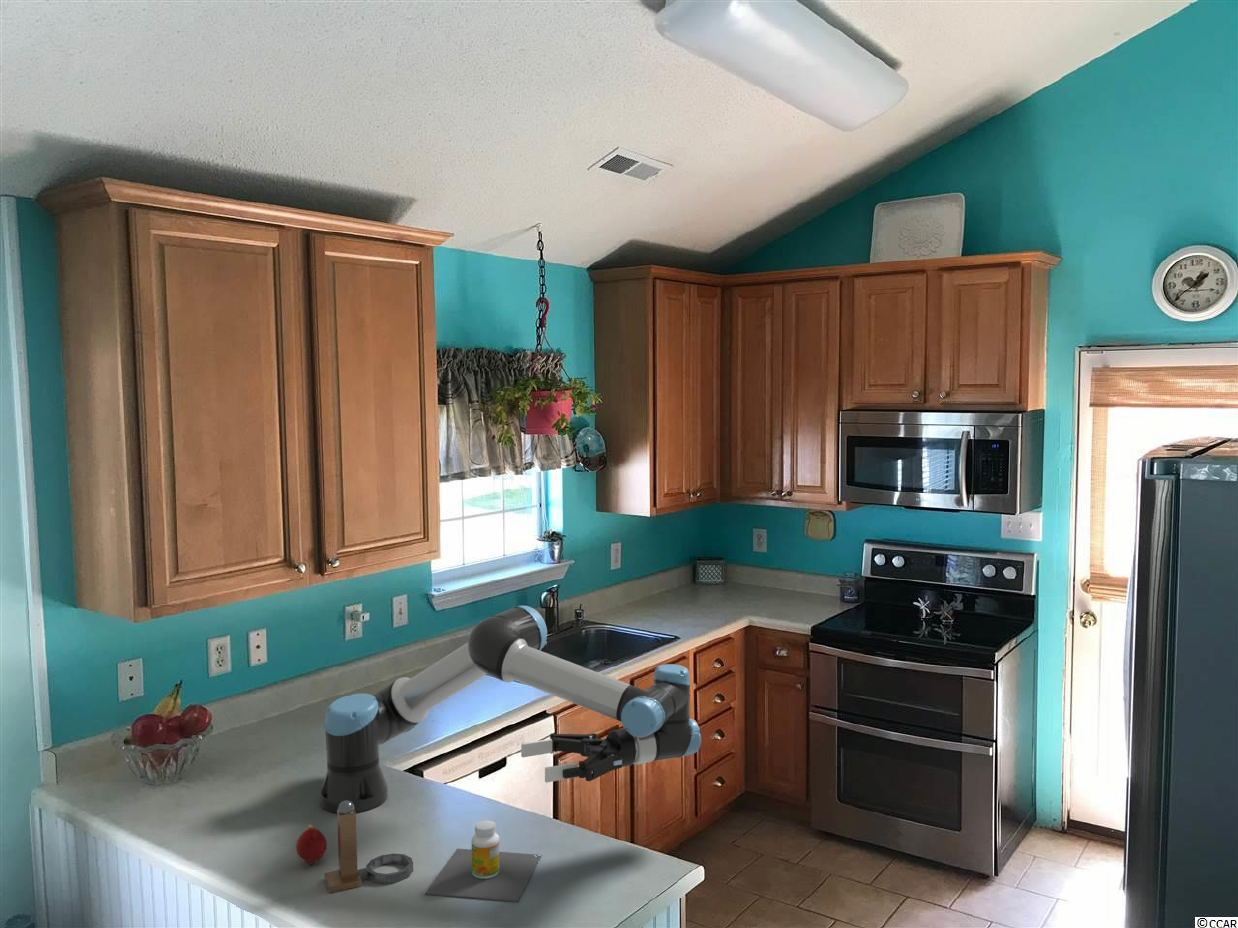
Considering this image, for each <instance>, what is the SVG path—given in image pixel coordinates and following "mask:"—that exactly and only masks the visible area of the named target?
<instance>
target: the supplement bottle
mask: <svg viewBox="0 0 1238 928" xmlns="http://www.w3.org/2000/svg"><path fill="white" fill-rule="evenodd" d="M496 829H497V827H496V823H495V822H494V821H492V820H480V821H478V822H476V823H475V825H474V835H472V836H471V850H472V874H473V876H474V877H476V878H480V879H489V878H493V877H495V876H496V875H497V874H498V873H499V868H500V866H499V852H500V836H499V835H498V833H497V832H496Z"/></svg>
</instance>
